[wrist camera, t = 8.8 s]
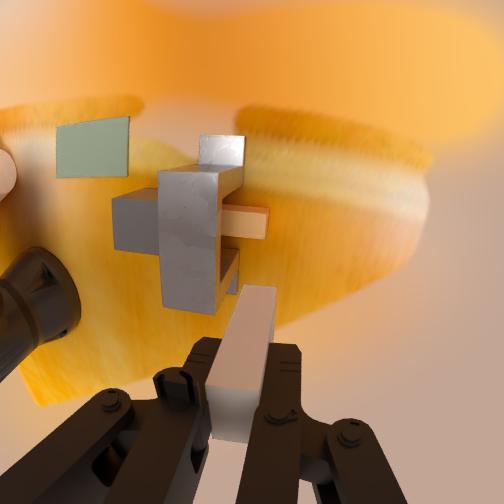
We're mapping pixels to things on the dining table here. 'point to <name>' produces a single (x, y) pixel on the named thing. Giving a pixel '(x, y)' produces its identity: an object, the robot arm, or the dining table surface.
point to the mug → (6, 174)
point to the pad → (93, 148)
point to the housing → (199, 226)
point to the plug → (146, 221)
